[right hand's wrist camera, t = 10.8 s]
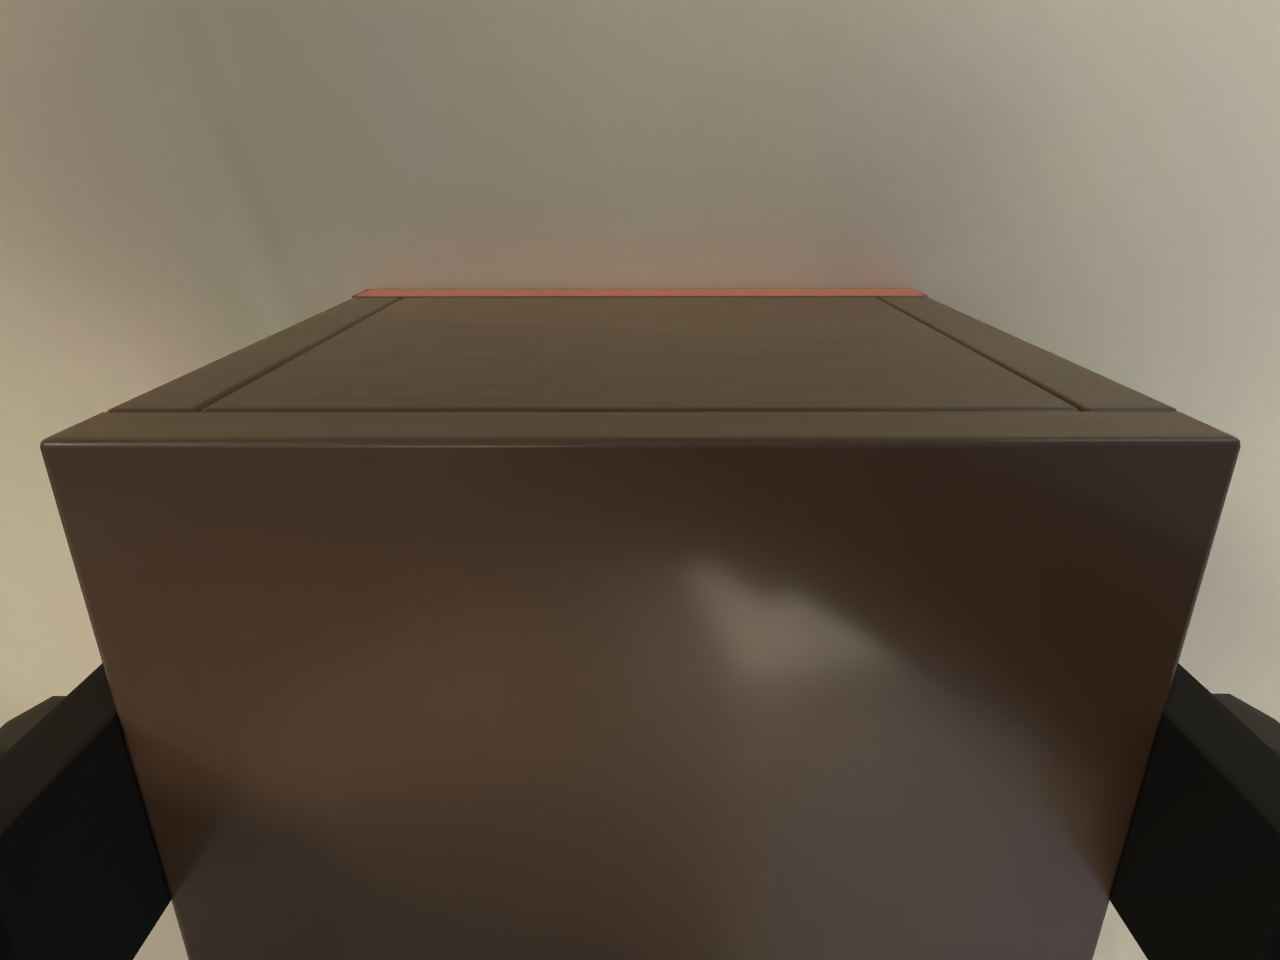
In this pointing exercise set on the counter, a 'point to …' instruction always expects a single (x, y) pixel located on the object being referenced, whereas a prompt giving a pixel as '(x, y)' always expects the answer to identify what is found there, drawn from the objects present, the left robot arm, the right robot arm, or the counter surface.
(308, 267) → the counter surface
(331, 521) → the cabinet
